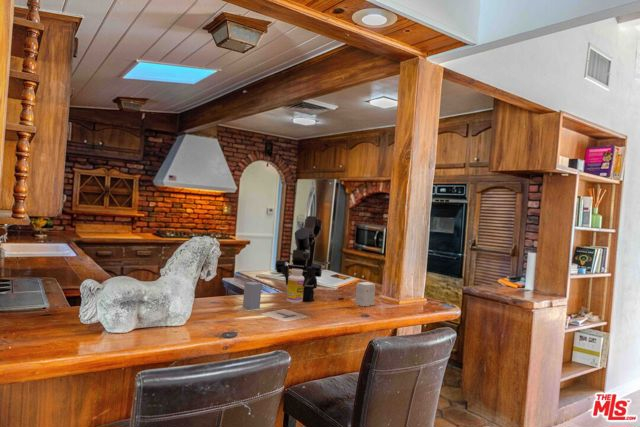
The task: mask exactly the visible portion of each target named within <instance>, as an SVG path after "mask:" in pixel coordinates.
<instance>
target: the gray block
mask: <svg viewBox="0 0 640 427" xmlns="http://www.w3.org/2000/svg"><path fill="white" fill-rule="evenodd" d="M262 285H263V284H262V283H260V282H257V281H249V282H247V281H246V282H244V287H243V297H242V298H243V300H242V301H243V302H242V308H243V309H246V310H250V311H253V310H258V309H260V308H261V295H262Z"/></svg>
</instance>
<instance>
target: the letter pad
mask: <svg viewBox="0 0 640 427" xmlns="http://www.w3.org/2000/svg"><path fill="white" fill-rule="evenodd" d="M260 314H261V315H263V316H266V317H269V318H272V319H275V320H278V321H280V322H284V323H286V322H291V321H295V320H301V319H305V318H309V317H310V316H308V315H306V314H303V313H300V312H295V311H292V310H290V309H289V310H288V309H285V308H282V309H278V310H272V311H267V312H261V313H260Z"/></svg>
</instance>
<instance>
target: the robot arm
mask: <svg viewBox="0 0 640 427" xmlns="http://www.w3.org/2000/svg"><path fill="white" fill-rule="evenodd" d="M322 231H323V222H322V220H321V219H319V218H318V216H315V215H313V216H312V215H307V216H306V219H304V225H303V227H302V226H301V227H300V228H298V229H297V230H296V231H295V232H294V240H295V242H294V243H295V246H296V248H295V249H292V256H291V263H289V262H287V260H285V259H284V260H282V259H277V260H276V262H275V269H276V270H275V271H276V273H278V274H279V273H280V274H281V275H283V276H284V279H285V286H287V285H288V277H289V275H290V271H289V270H291V269H293V268H297V269H302V270H303V273H302V276H303V277H304V278H305V280H304V284H303V287H304V291H303V301H302V302H307V303H308V302H313V301H315V298H314V293H315V292H314V291H315V289H318V279H317V278H320V277H322V272H323V270H322V269H323V268H322V267H323V266H322V264H320V263H314V259H315V253H316V246H317V239H318V238H319V237H320V235H321V232H322Z"/></svg>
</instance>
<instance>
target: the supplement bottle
mask: <svg viewBox="0 0 640 427" xmlns="http://www.w3.org/2000/svg"><path fill="white" fill-rule="evenodd" d="M290 272H291V274H289V277H288V284H287V285H286V301H287V302H290V303H297V304H298V303H302V302H304V301H303V291H304V287H303V284H304V280H305V278H304V277H303V276H302V273H303V270H302V269H297V268H293V269H290Z"/></svg>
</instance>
